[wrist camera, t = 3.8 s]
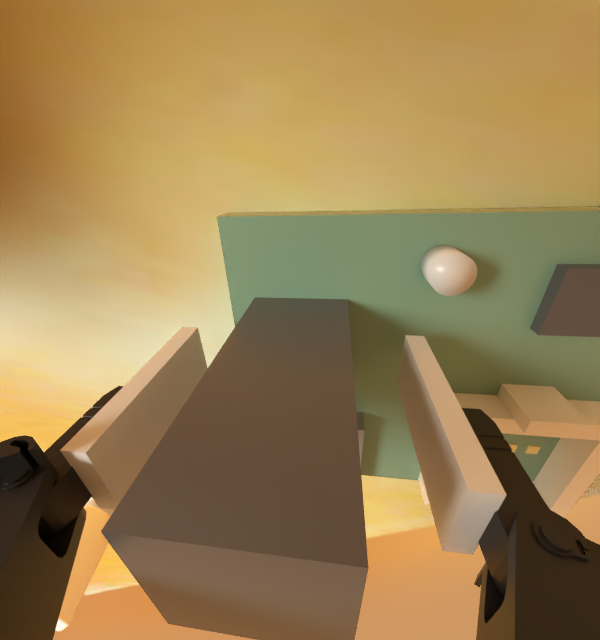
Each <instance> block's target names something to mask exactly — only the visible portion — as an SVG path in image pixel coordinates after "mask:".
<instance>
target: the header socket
mask: <svg viewBox="0 0 600 640" xmlns="http://www.w3.org/2000/svg"><path fill="white" fill-rule="evenodd" d="M454 395H455V397H456V398H457V400H458V402H459V404H460V406H461V408H472V409H481V410H482V411H483V412H484V413H485V414H486V415H488V416H489V417H490V418H491V419H492V420H493V421H494V422H495V423H496V425H497V426H498V428H499V429H500V431H501V433H504V434H517V435H531V436H544V437H558V438H560V440H559V442H558V443H557V445H556V446H555V448H554V450H553V451H552V453H551V454H550V456H549V458H548V459H547V461H546V462H545V464H544V466H543V467H542V469H541V470H540V472H539V474H538V475H537V477H536V478H535V480H534V481H532V482H533V484H534V485H535V487H536V489H537V490H538V492H539V494H540V495H541V497H542V498H543V500H544V502H545V503H546V504H547V506H548V507H549V508H550V510H552V511H553V512H555V513H557V514H558V515H560V516H562V517H563V518H565V517H566V515H567V514H568V513H569V512H570V510H571V509H572V508H573V507H574V505H575V504H576V503H577V502H578V500H579V499H580V498H581V497H582V495H583V494H584V493H585V492H586V490H587V489H588V488H589V487H590V485H591V484H592V483H593V481H594V480H595V479H596V478H597V476H598V475H599V474H600V401H583V400H567V399H566V398H565V397H564V396H563V395H562V394H561V393H560V392H559V391H558V390H557V389H556V388H555V387H553V386H534V385H516V384H502V385H501V387H500V390H499V392H498V395H482V394H465V393H454ZM509 445H510V447H511V449H512V452H515V450H516V448H517V446H518V445H517V444H509ZM540 448H541V447H540V446H534V445H528V446H527V448H526V450H525V453H527V454H537V453H538V451H539V450H540ZM418 481H419V485H420V489H421V493H422V497H423V501H424V504H425V505H430V503H429V499H428V496H427V492H426V488H425V485H424V481H423V478H422V474H421V471H420V474H419V478H418Z"/></svg>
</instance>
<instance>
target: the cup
mask: <svg viewBox="0 0 600 640" xmlns="http://www.w3.org/2000/svg"><path fill="white" fill-rule="evenodd" d="M84 509H85V510H86V521H85V525H84V528H83V532H82V535H81V539H80V543H79V546H78V550H77V553H76V557H75V561H74V564H73V568H72V571H71V575H70V579H69V582H68V586H67V590H66V593H65V597H64V600H63V604H62V608H61V611H60V615H59V618H58V622H57V626H56V629H55V631H62V630H63V629H65V628H66V627H67V626H68V625H69V624H70V622H71V620H72V618H73V616H74V613H75V611H76V609H77V607H78V605H79V603H80V601H81V599H82V597H83V595H84V593H85V590H86V588H87V586H88V584H89V582H90V580H91V578H92V576H93V574H94V572H95V570H96V568H97V566H98V563H99V561H100V559H101V557H102V555H103V553H104V551H105V549H106V546H107V544H108V541H107V539H106V538H105V537H104V535H103V534H102V533H101V530H102V529H103V527H104V526H105V524H106V523H107V521H108V520H109V518H110V517H111V515H112V514H113V512H114V511H115V509H108V508H100V507H98V505H97V504H96V502H95V501H94V499H93V498H92V497H91V498H90V499H89V501H88V502H87V503H86V505H85V506H84Z"/></svg>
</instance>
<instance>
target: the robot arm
mask: <svg viewBox="0 0 600 640" xmlns="http://www.w3.org/2000/svg"><path fill="white" fill-rule="evenodd" d="M206 371H207V365H206V360H205V356H204V352H203V348H202V344H201V340H200V335H199V331H198V328H190V327H182V328H181V329H180V330H179V331H178V332H177V333H176V334H175V335H174V336H173V337H172V338H171V339H170V340H169V341H168V342H167V343H166V344H165V345H164V346H163V347H162V348H161V349H160V350H159V351H158V352H157V353H156V354H155V355H154V356H153V357H152V358H151V359H150V360H149V361H148V362H147V363H146V364H145V365H144V366H143V367H142V368H141V369H140V370H139V371H138V372H137V373H136V374H135V375H134V376H133V377H132V378H131V380H130V381H129V382H128V383H127V384H126V385H125V386H118V387H117V388H115V389H113V390H112V391H110V392H108V393H107V394H105V395H104V396H103V397H102V398H101V399H100V400H99V401H98V402H96V403H95V404H94V405H93V408H92V409H91V408H90V409H89V410H88V411H87V412H86V413H85V414H84V415H83V418H80V419H79V420H78V421H77V422H76V423H75V424H74V425H72V426H71V427H70V428H69V429H68V430H67V431H66V432H65V433H64V434H63V435H62V436H61V437H60V438H59V439H58V440H57V441H56V442H55V443H54V444H53V445H52V446H51V447H50V448H48V449H47V450H46V451H45V452H43V451H42V450H41V448H40V447H39V445H38V444H37V443H36V441H35V440H34V439H33V437H30V436H18V437H13V438H11V439H8V440H5V441H2V442H0V640H53V636H54V633H55V629H56V626H57V622H58V618H59V615H60V611H61V608H62V604H63V600H64V597H65V593H66V590H67V586H68V582H69V579H70V575H71V571H72V568H73V564H74V561H75V557H76V553H77V550H78V546H79V543H80V539H81V535H82V532H83V528H84V525H85V521H86V510H85V509H84V506H85V505H86V503H87V502H88V501H89V499H90V498H91V497H92V498H93V499H94V501H95V502H96V504H97V505H98V507H100V508H108V509H116V507H117V506H118V504H119V503H120V501H121V500H122V498H123V497H124V495H125V494H126V492H127V491H128V489H129V488H130V486H131V485H132V483H133V482H134V480H135V479H136V477H137V476H138V474H139V473H140V471H141V469H142V468H143V466H144V465H145V463H146V462H147V460H148V459H149V457H150V456H151V454H152V453H153V451H154V450H155V448H156V447H157V445H158V444H159V442H160V441H161V439H162V438H163V436H164V435H165V433H166V431H167V430H168V428H169V427H170V425H171V424H172V422H173V421H174V419H175V418H176V416H177V415H178V413H179V412H180V410H181V409H182V407H183V406H184V404H185V403H186V401H187V400H188V398H189V397H190V395H191V394H192V392H193V390H194V389H195V387H196V386H197V384H198V383H199V381H200V380H201V378H202V377H203V375H204V374H205V372H206ZM397 387H398V390H399V394H400V398H401V401H402V405H403V408H404V412H405V416H406V419H407V423H408V427H409V430H410V434H411V438H412V441H413V445H414V448H415V452H416V456H417V459H418V463H419V467H420V470H421V474H422V478H423V481H424V485H425V488H426V492H427V496H428V499H429V503H430V507H431V510H432V514H433V517H434V521H435V525H436V528H437V532H438V536H439V539H440V543H441V547H442V550H443V551H449V552H458V553H465V554H473V553H474V552H475V550H476V548H477V546H478V545H480V547H481V550H482V553H483V555H484V558H485V561H486V563H485V565H484V566H483V568H482V569H481V571H480V572H479V574H478V576H477V578H476V581H475V585H477V586H478V587H480V585H481V594H480V606H479V616H478V627H477V637H476V640H600V545H598V544H596V543H594V542H592V541H590V540H588V539H586V538H585V537H584V536H583V535H582V533H581V532H580V531H579V530H578V529H577V528H576V527H575V526H573V525H572V524H571V523H570V522H569V521H568V520H567V519H565V518H563V517H562V516H560V515H558V514H557V513H555V512H553V511H552V510H550V508H549V507H548V506H547V504H546V503H545V502H544V500H543V498H542V497H541V495H540V494H539V492H538V490H537V489H536V487H535V485H534V484H533V482H532V481H531V479H530V477H529V476H528V474H527V473H526V471H525V469H524V468H523V466H522V465H521V463H520V461H519V460H518V458H517V457H516V455H515V453H513V452H512V449H511V447H510V445H509V444H508V442H507V441H506V440H505V439H504V436H503V434H502V433H501V431H500V429H499V428H498V426H497V425H496V423H495V422H494V421H493V420H492V419H491V418H490V417H489V416H488V415H486V414H485V413H484V412H483V411H482V410H481V409H472V408H461V406H460V404H459V402H458V400H457V398H456V397H455V395H454V393H453V391H452V389H451V387H450V385H449V383H448V381H447V379H446V377H445V375H444V373H443V372H442V370H441V368H440V366H439V364H438V362H437V360H436V358H435V356H434V354H433V352H432V350H431V348H430V347H429V345H428V343H427V341H426V339H425V337H424V336H412V335H405V341H404V346H403V352H402V358H401V363H400V369H399V375H398V380H397Z"/></svg>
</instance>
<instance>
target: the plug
mask: <svg viewBox="0 0 600 640" xmlns="http://www.w3.org/2000/svg"><path fill="white" fill-rule="evenodd" d="M101 533H102V534H103V535H104V537H105V538H106V539H107V541H108V542H109V543H110V545H111V546H112V548H113V549H114V550H115V552H116V553H117V554H118V556H119V557H120V558H121V560H122V561H123V563H124V564H125V565H126V567H127V568H128V569H129V571H130V572H131V573H132V575H133V576H134V578H135V579H136V580H137V582H138V583H139V584H140V586H141V587H142V588H143V590H144V591H145V593H146V594H147V595H148V597H149V598H150V599H151V601H152V602H153V603H154V605H155V606H156V608H157V609H158V610H159V612H160V613H161V614H162V616H163V617H164V618H165V620H166V621H167V622H168V624H173V625H178V626H184V627H189V628H195V629H201V630H206V631H212V632H218V633H223V634H229V635H235V636H240V637H246V638H252V639H257V640H354V639H355V634H356V629H357V623H358V618H359V613H360V608H361V603H362V597H363V592H364V587H365V582H366V577H367V572H368V560H367V546H366V532H365V519H364V506H363V493H362V480H361V467H360V453H359V440H358V427H357V414H356V401H355V388H354V374H353V361H352V348H351V335H350V322H349V309H348V299H309V298H262V297H255V298H254V299H253V301H252V302H251V304H250V305H249V307H248V308H247V310H246V311H245V313H244V314H243V316H242V318H241V319H240V321H239V322H238V324H237V325H236V327H235V328H234V330H233V331H232V333H231V334H230V336H229V337H228V339H227V340H226V342H225V343H224V345H223V346H222V348H221V349H220V351H219V352H218V354H217V356H216V357H215V359H214V360H213V362H212V363H211V365H210V366H209V368H208V369H207V371H206V372H205V374H204V375H203V377H202V378H201V380H200V381H199V383H198V384H197V386H196V387H195V389H194V390H193V392H192V394H191V395H190V397H189V398H188V400H187V401H186V403H185V404H184V406H183V407H182V409H181V410H180V412H179V413H178V415H177V416H176V418H175V419H174V421H173V422H172V424H171V425H170V427H169V428H168V430H167V431H166V433H165V435H164V436H163V438H162V439H161V441H160V442H159V444H158V445H157V447H156V448H155V450H154V451H153V453H152V454H151V456H150V457H149V459H148V460H147V462H146V463H145V465H144V466H143V468H142V469H141V471H140V473H139V474H138V476H137V477H136V479H135V480H134V482H133V483H132V485H131V486H130V488H129V489H128V491H127V492H126V494H125V495H124V497H123V498H122V500H121V501H120V503H119V504H118V506H117V507H116V509H115V511H114V512H113V514H112V515H111V517H110V518H109V520H108V521H107V523H106V524H105V526H104V527H103V529H102V530H101Z"/></svg>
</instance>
